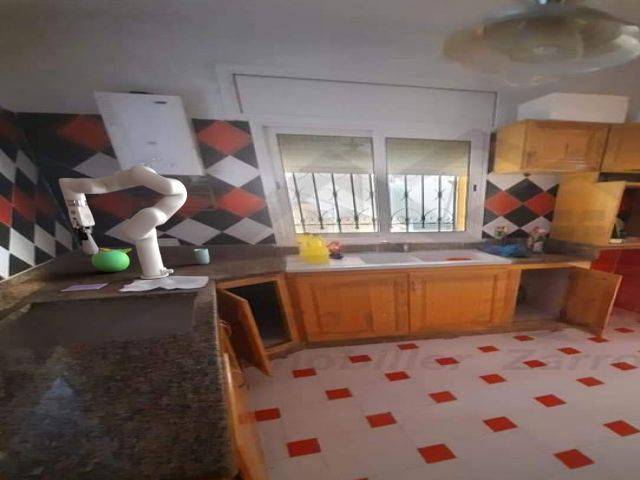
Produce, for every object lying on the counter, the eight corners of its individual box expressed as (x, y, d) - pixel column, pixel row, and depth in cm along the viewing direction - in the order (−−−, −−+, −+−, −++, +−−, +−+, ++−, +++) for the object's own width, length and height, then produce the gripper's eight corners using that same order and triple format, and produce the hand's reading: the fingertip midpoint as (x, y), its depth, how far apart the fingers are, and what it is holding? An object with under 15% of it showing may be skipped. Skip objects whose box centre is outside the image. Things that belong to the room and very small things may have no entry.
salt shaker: (89, 254, 166) (81, 230, 162) (81, 254, 167) (73, 229, 163) (102, 253, 172) (95, 228, 167) (94, 252, 173) (87, 228, 169)
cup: (212, 263, 215) (209, 249, 212) (200, 265, 209) (196, 250, 206) (207, 262, 219) (204, 248, 216) (194, 264, 213) (191, 249, 210)
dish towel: (107, 284, 166) (107, 283, 166) (97, 289, 158) (96, 288, 157) (73, 286, 162) (72, 285, 162) (60, 292, 153) (59, 291, 153)
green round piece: (90, 273, 188) (82, 248, 184) (125, 267, 203) (118, 244, 198) (104, 276, 181) (96, 251, 176) (140, 270, 195) (133, 246, 191)
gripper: (75, 204, 155) (86, 241, 161) (96, 203, 170) (105, 237, 176) (55, 204, 153) (67, 242, 158) (78, 203, 168) (88, 237, 173)
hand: (87, 239), depth 167 cm, fingers closed on salt shaker, 4 cm apart
